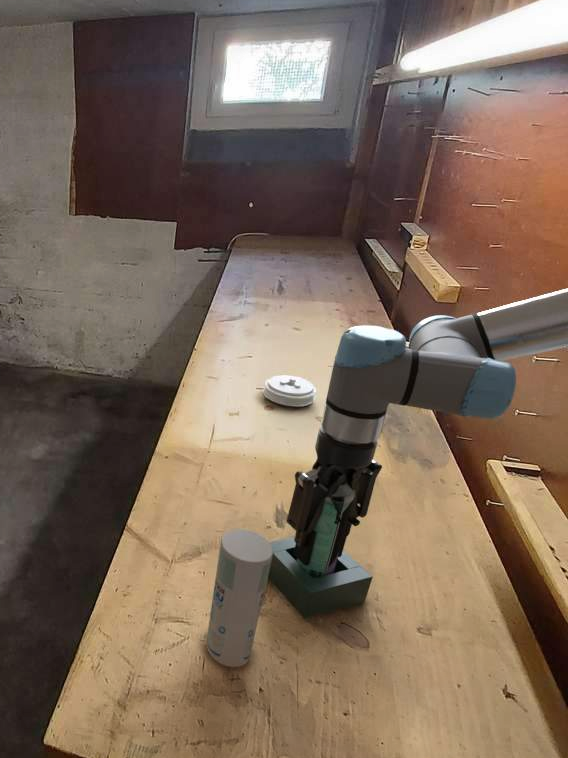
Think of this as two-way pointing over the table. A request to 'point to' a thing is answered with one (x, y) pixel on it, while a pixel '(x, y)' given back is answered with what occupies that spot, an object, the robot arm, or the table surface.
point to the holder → (317, 582)
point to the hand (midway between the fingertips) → (317, 555)
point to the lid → (289, 390)
